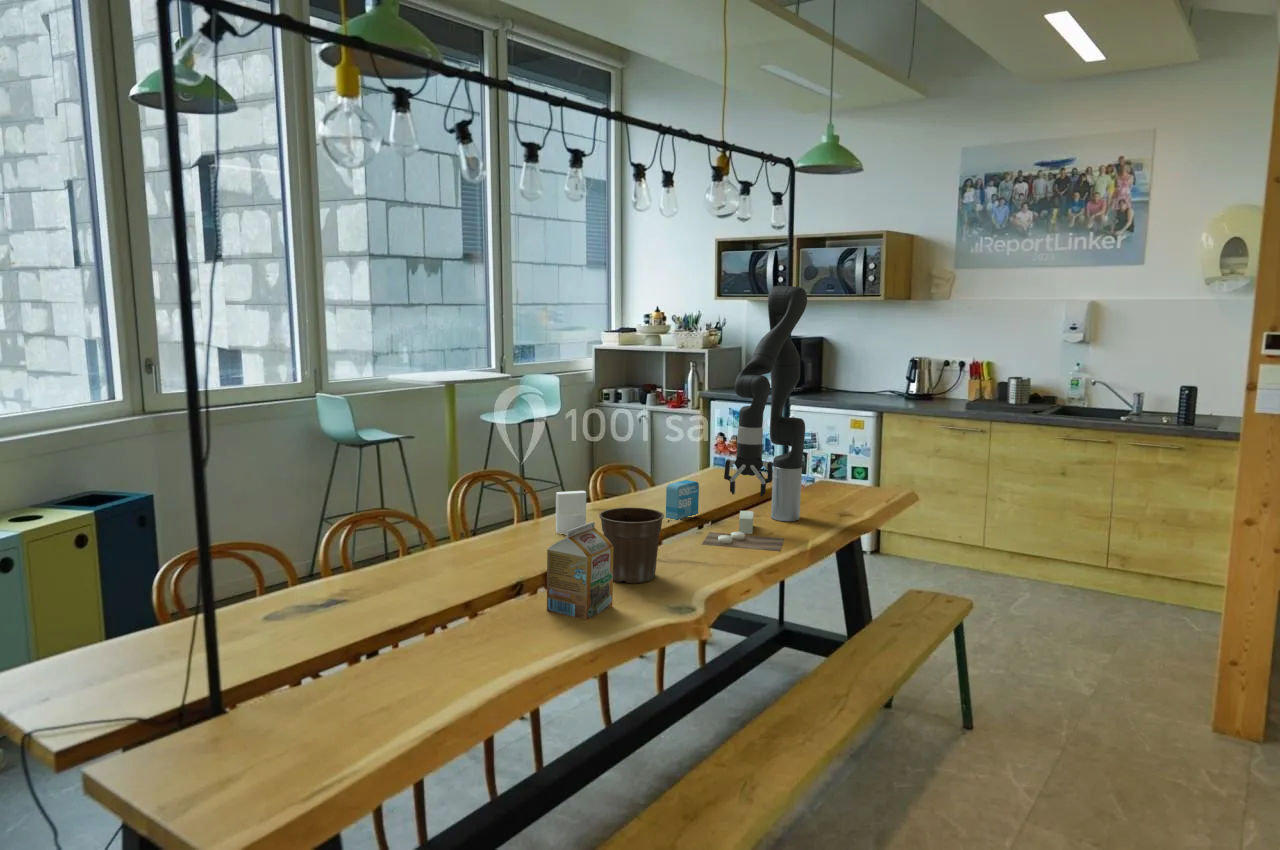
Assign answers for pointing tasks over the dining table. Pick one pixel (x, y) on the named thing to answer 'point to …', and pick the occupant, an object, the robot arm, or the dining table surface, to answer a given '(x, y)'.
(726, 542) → the wax drip
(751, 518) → the sanding block
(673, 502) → the data package
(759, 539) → the walnut board
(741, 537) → the wax drip
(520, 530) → the dining table surface
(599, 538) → the milk carton
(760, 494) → the robot arm
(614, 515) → the plant pot
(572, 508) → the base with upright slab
